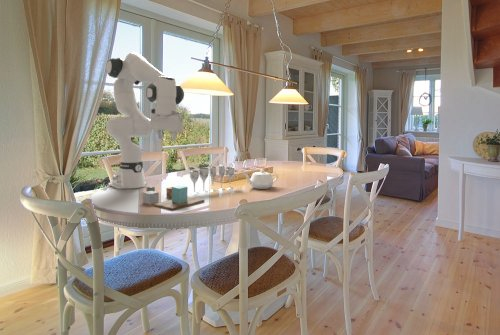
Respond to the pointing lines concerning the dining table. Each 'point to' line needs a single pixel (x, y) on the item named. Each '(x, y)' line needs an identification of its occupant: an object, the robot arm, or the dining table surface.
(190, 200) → the walnut board
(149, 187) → the charcoal cylinder
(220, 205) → the dining table surface
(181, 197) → the teal block
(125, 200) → the dining table surface
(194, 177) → the goblet set
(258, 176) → the teapot
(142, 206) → the dining table surface
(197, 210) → the dining table surface
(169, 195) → the oak block
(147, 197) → the grey block
